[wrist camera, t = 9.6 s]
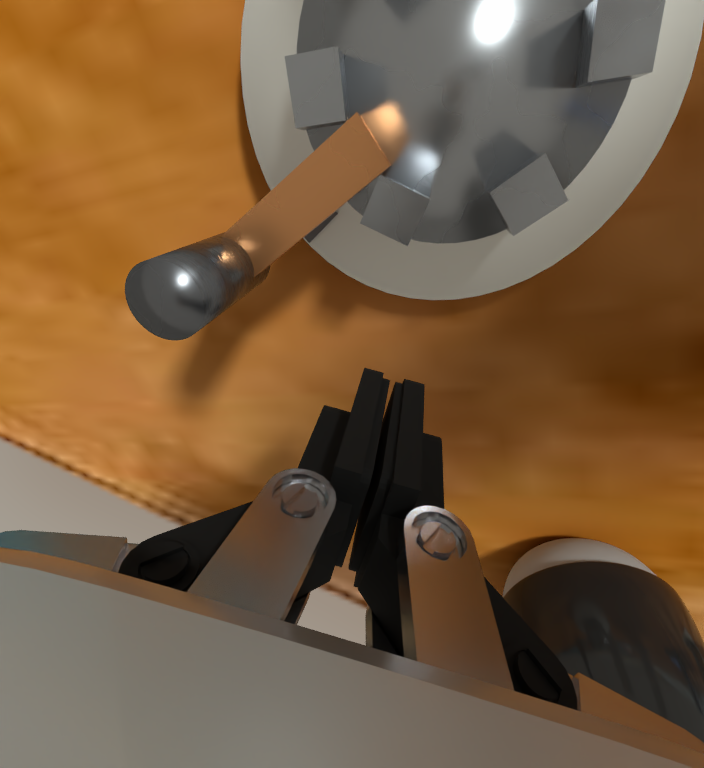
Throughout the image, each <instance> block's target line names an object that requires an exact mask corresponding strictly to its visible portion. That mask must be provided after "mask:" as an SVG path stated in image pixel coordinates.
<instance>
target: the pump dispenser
mask: <svg viewBox="0 0 704 768" xmlns="http://www.w3.org/2000/svg"><path fill="white" fill-rule="evenodd" d="M503 598H504V599H505V600H506V602H507V603H508V604H509V605H510V606H511V607H512V608H513V609H514V610H515V611H516V612H517V614H518V615H519V616H520V617H521V618H522V619H523V620H524V621H525V622H526V623H527V625H528V626H529V627H530V628H531V629H532V630H533V631H534V632H535V633H536V634H537V636H538V637H539V638H540V639H541V640H542V641H543V642H544V643H545V644H546V645H547V647H548V648H549V649H550V650H551V651H552V652H553V653H554V654H555V655H556V657H557V658H558V659H559V661H560V662H561V663H562V665H563V666H564V667H565V669H566V670H567V672H568V674H570V675H572V676H575V675H576V674H577V673H578V672H579V673H581V674H583V675H585V676H586V677H588V678H590V679H592V680H594V681H596V682H598V683H599V684H601V685H603V686H605V687H607V688H609V689H611V690H613V691H614V692H616V693H618V694H620V695H622V696H624V697H626V698H627V699H629V700H631V701H633V702H635V703H637V704H639V705H641V706H642V707H644V708H646V709H648V710H650V711H652V712H654V713H655V714H657V715H659V716H661V717H663V718H665V719H667V720H668V721H670V722H672V723H674V724H676V725H678V726H680V727H682V728H683V729H685V730H687V731H688V732H689V733H691V734H692V735H694V736H695V737H697V738H698V739H699V740H701V741H702V742H703V743H704V642H703V639H702V637H701V635H700V633H699V631H698V628H697V626H696V624H695V622H694V620H693V618H692V616H691V615H690V613H689V611H688V609H687V607H686V606H685V604H684V602H683V601H682V599H681V598H680V596H679V595H678V594H677V592H676V591H675V590H674V589H673V588H672V587H671V586H670V585H669V584H668V583H666V582H665V581H664V580H662V579H661V578H659V577H657V576H656V575H655V574H654V573H653V572H652V571H651V570H650V569H649V568H648V567H647V566H645V565H644V564H643V563H642V562H640V561H639V560H638V559H636V558H635V557H633V556H632V555H630V554H629V553H627V552H625V551H623V550H621V549H619V548H617V547H615V546H612V545H610V544H607V543H604V542H600V541H596V540H591V539H584V538H565V539H558V540H553V541H549V542H546V543H543V544H541V545H538V546H536V547H535V548H533V549H531V550H529V551H528V552H527V553H525V554H524V555H523V556H522V557H521V558H520V559H519V560H518V561H517V562H516V563H515V565H514V566H513V568H512V569H511V571H510V573H509V575H508V577H507V580H506V583H505V586H504V591H503Z"/></svg>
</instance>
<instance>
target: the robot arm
mask: <svg viewBox="0 0 704 768" xmlns="http://www.w3.org/2000/svg"><path fill="white" fill-rule="evenodd" d="M389 382H390V380H387V379H384V378H383V373H382V372H378V371H374V370H371V369H367V368H364V371H363V374H362V378H361V381H360V384H359V387H358V391H357V394H356V397H355V400H354V404H353V407H352V410H351V412H347V411H344V410H340V409H337V408H333V407H330V406H326V405H324V407H323V409H322V411H321V414H320V416H319V418H318V421H317V423H316V426H315V428H314V430H313V433H312V435H311V438H310V440H309V442H308V445H307V447H306V450H305V452H304V454H303V457H302V459H301V462H300V464H299V466H298V469H297V468H293V469H288V470H284V471H282V472H280V473H277V474H275V475H274V476H273V477H272V478H271V479H270V480H269V481H268V482H267V484H266V485H265V486H264V488H263V489H262V490H261V492H260V493H259V495H258V496H257V497H256V499H255V500H254V501H253V502H250V503H247V504H244V505H241V506H238V507H236V508H233V509H230V510H227V511H224V512H221V513H218V514H216V515H213V516H210V517H207V518H204V519H201V520H199V521H196V522H193V523H190V524H187V525H184V526H181V527H179V528H176V529H173V530H170V531H167V532H165V533H162V534H159V535H156V536H154V537H152V538H149V539H147V540H145V541H143V542H141V543H140V544H133V543H127V538H126V537H112V536H97V535H83V534H68V533H55V532H39V531H26V530H17V531H5V532H2V533H0V768H704V743H703V742H702V741H701V740H699V739H698V738H697V737H695V736H694V735H692V734H691V733H689V732H688V731H687V730H685V729H683V728H682V727H680V726H678V725H676V724H674V723H672V722H670V721H668V720H667V719H665V718H663V717H661V716H659V715H657V714H655V713H654V712H652V711H650V710H648V709H646V708H644V707H642V706H641V705H639V704H637V703H635V702H633V701H631V700H629V699H627V698H626V697H624V696H622V695H620V694H618V693H616V692H614V691H613V690H611V689H609V688H607V687H605V686H603V685H601V684H599V683H598V682H596V681H594V680H592V679H590V678H588V677H586V676H585V675H583V674H581V673H579V672H578V673H577V674H576V675H575V676H572V675H570V674H568V672H567V670H566V669H565V667H564V666H563V665H562V663H561V662H560V661H559V659H558V658H557V657H556V655H555V654H554V653H553V652H552V651H551V650H550V649H549V648H548V647H547V645H546V644H545V643H544V642H543V641H542V640H541V639H540V638H539V637H538V636H537V634H536V633H535V632H534V631H533V630H532V629H531V628H530V627H529V626H528V625H527V623H526V622H525V621H524V620H523V619H522V618H521V617H520V616H519V615H518V614H517V612H516V611H515V610H514V609H513V608H512V607H511V606H510V605H509V604H508V603H507V602H506V600H505V599H504V598H503V597H502V596H501V595H500V594H499V593H498V592H497V591H496V589H495V588H494V587H493V586H492V585H491V584H490V583H489V582H488V581H487V580H486V578H485V577H484V576H483V572H482V568H481V565H480V561H479V557H478V553H477V550H476V546H475V542H474V539H473V537H472V535H471V532H470V530H469V529H468V528H467V526H466V525H465V524H464V523H463V522H462V521H461V520H460V519H459V518H458V517H457V516H455V515H454V514H452V513H451V512H449V511H447V510H445V509H444V491H443V460H442V440H441V438H440V437H436V436H433V435H429V434H425V433H423V415H424V384H421V383H418V382H414V381H410V380H407V379H404V381H403V384H402V383H398V382H395V385H394V388H393V391H392V394H391V397H390V400H389V403H388V406H387V409H386V412H385V415H384V409H385V404H386V398H387V393H388V387H389ZM383 415H384V418H383ZM357 521H358V522H357ZM356 524H357V527H356ZM355 527H356V532H355V537H354V542H353V547H352V553H351V558H350V563H349V570H353V571H356V576H355V582H354V586H355V587H358V590H359V592H360V593H361V595H362V596H363V598H364V599H365V601H366V602H367V604H368V606H367V610H366V646H365V645H361V644H358V643H355V642H351V641H348V640H345V639H341V638H338V637H335V636H331V635H328V634H324V633H321V632H318V631H315V630H311V629H308V628H305V627H301V626H298V625H297V623H298V621H299V619H300V617H301V614H302V612H303V610H304V608H305V605H306V603H307V601H308V599H309V595H310V592H311V591H312V590H314V589H316V588H318V587H320V586H321V585H323V584H325V583H327V582H329V581H330V579H331V576H332V573H333V570H334V567H335V565H336V566H339V567H342V565H343V562H344V559H345V556H346V553H347V550H348V547H349V544H350V541H351V538H352V535H353V532H354V529H355Z"/></svg>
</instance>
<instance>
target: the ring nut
mask: <svg viewBox="0 0 704 768" xmlns="http://www.w3.org/2000/svg"><path fill="white" fill-rule="evenodd" d="M665 1H666V0H304V1H303V6H302V11H301V15H300V21H299V30H298V39H297V54H294V55H289V56H285V63H286V69H287V76H288V82H289V89H290V95H291V101H292V108H293V114H294V121H295V127H296V128H297V129H300V130H306V131H307V134H308V137H309V140H310V143H311V146H312V148H313V150H314V152H313V153H311V154H310V155H309V156H308V157H307V158H306V159H305V160H304V161H303V162H302V163H301V164H300V165H298V166H297V167H296V168H295V169H294V170H293V171H292V172H291V173H290V174H289V175H288V176H286V177H285V178H284V179H283V180H282V181H281V182H280V183H279V184H278V185H277V186H276V187H274V188H273V189H272V190H271V191H270V192H269V193H268V194H267V195H266V196H265V197H264V198H263V199H261V200H260V201H259V202H258V203H257V204H256V205H255V206H254V207H253V208H252V209H251V210H249V211H248V212H247V213H246V214H245V215H244V216H243V217H242V218H241V219H240V220H239V221H237V222H236V223H235V224H234V225H233V226H232V227H231V228H230V229H229V230H228V231H227V232H224V233H221V234H219V235H216V236H213V237H210V238H207V239H205V240H202V241H199V242H196V243H193V244H191V245H188V246H185V247H182V248H179V249H177V250H174V251H171V252H168V253H165V254H163V255H160V256H157V257H154V258H151V259H149V260H146V261H143V262H140V263H139V264H137V265H136V266H134V267H133V268H132V270H131V271H130V272H129V274H128V276H127V279H126V283H125V295H126V300H127V303H128V306H129V308H130V310H131V312H132V314H133V315H134V317H135V318H136V319H137V321H138V322H139V323H140V324H141V325H142V326H143V327H144V328H145V329H147V330H148V331H149V332H151V333H153V334H154V335H156V336H158V337H161V338H164V339H168V340H183V339H186V338H188V337H190V336H192V335H193V334H195V333H196V332H197V331H199V330H200V329H201V328H203V327H204V326H205V325H207V324H208V323H209V322H211V321H212V320H213V319H214V318H216V317H217V316H218V315H220V314H221V313H222V312H224V311H225V310H226V309H228V308H229V307H230V306H232V305H233V304H234V303H236V302H237V301H238V300H240V299H241V298H242V297H243V296H245V295H246V294H247V293H249V292H250V291H251V290H253V289H254V288H255V287H257V286H258V285H259V284H261V283H262V282H263V281H264V280H265V279H266V277H267V275H268V273H269V270H270V265H271V264H272V263H273V262H275V261H276V260H277V259H278V258H279V257H281V256H282V255H283V254H284V253H286V252H287V251H288V250H289V249H290V248H292V247H293V246H294V245H295V244H297V243H298V242H299V241H300V240H301V239H303V238H304V237H305V236H306V235H308V234H309V233H310V232H311V231H312V230H314V229H315V228H316V227H317V226H319V225H320V224H321V223H322V222H323V221H325V220H326V219H327V218H328V217H329V216H331V215H332V214H333V213H334V212H336V211H337V210H338V209H339V208H340V207H342V206H343V205H344V204H345V203H347V202H348V203H349V204H350V205H351V206H352V207H353V208H354V209H355V210H356V211H357V212H359V213H360V214H361V215H362V216H363V217H362V220H361V222H360V224H362V225H364V226H367V227H369V228H371V229H373V230H375V231H377V232H379V233H381V234H383V235H385V236H387V237H389V238H391V239H394V240H396V241H398V242H400V243H402V244H404V245H406V246H408V245H409V243H410V240H411V239H412V240H416V241H420V242H429V243H438V244H439V243H460V242H466V241H472V240H477V239H481V238H484V237H487V236H491V235H494V234H497V233H499V232H501V231H504V230H506V229H507V231H508V232H509V233H510V234H512V235H513V236H514V235H516V234H518V233H519V232H521V231H522V230H524V229H525V228H527V227H528V226H530V225H531V224H533V223H535V222H536V221H538V220H539V219H541V218H542V217H544V216H545V215H547V214H549V213H550V212H552V211H553V210H555V209H556V208H558V207H559V206H561V205H562V204H564V203H566V202H567V201H569V200H568V198H567V196H566V194H565V192H564V189H565V188H567V187H568V186H569V185H570V184H571V182H572V181H573V180H574V179H575V178H576V177H577V176H578V174H579V173H580V172H581V171H582V170H583V169H584V168H585V167H586V165H587V164H588V162H589V161H590V160H591V158H592V157H593V155H594V154H595V153H596V151H597V150H598V148H599V147H600V146H601V144H602V142H603V141H604V139H605V137H606V135H607V134H608V132H609V130H610V128H611V127H612V125H613V123H614V121H615V119H616V117H617V115H618V113H619V110H620V108H621V106H622V104H623V101H624V99H625V97H626V94H627V91H628V88H629V85H630V82H631V79H636V78H638V77H641V76H643V75H646V74H648V73H651V72H653V66H654V61H655V55H656V50H657V44H658V39H659V33H660V28H661V23H662V17H663V12H664V6H665Z"/></svg>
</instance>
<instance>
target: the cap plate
mask: <svg viewBox="0 0 704 768" xmlns="http://www.w3.org/2000/svg"><path fill="white" fill-rule="evenodd" d="M303 1H304V0H245V6H244V13H243V21H242V33H241V77H242V92H243V100H244V106H245V112H246V118H247V124H248V128H249V132H250V136H251V139H252V143H253V146H254V150H255V154H256V157H257V159H258V162H259V164H260V167H261V169H262V172H263V174H264V177H265V179H266V182H267V184H268V186H269V188H270V190H272V189H273V188H274V187H276V186H277V185H278V184H279V183H280V182H281V181H282V180H283V179H284V178H285V177H286V176H288V175H289V174H290V173H291V172H292V171H293V170H294V169H295V168H296V167H297V166H298V165H300V164H301V163H302V162H303V161H304V160H305V159H306V158H307V157H308V156H309V155H310V154H311V153H313V152H314V150H313V148H312V146H311V143H310V140H309V137H308V134H307V131H306V130H300V129H297V128H296V127H295V121H294V114H293V108H292V101H291V95H290V89H289V82H288V76H287V69H286V63H285V56H289V55H294V54H297V39H298V30H299V21H300V15H301V11H302V6H303ZM703 21H704V0H666V1H665V6H664V12H663V17H662V23H661V28H660V33H659V39H658V44H657V50H656V55H655V61H654V66H653V72H651V73H648V74H646V75H643V76H641V77H638V78H636V79H631V82H630V85H629V88H628V91H627V94H626V97H625V99H624V101H623V104H622V106H621V108H620V110H619V113H618V115H617V117H616V119H615V121H614V123H613V125H612V127H611V128H610V130H609V132H608V134H607V135H606V137H605V139H604V141H603V142H602V144H601V146H600V147H599V148H598V150H597V151H596V153H595V154H594V155H593V157H592V158H591V160H590V161H589V162H588V164H587V165H586V167H585V168H584V169H583V170H582V171H581V172H580V173H579V174H578V176H577V177H576V178H575V179H574V180H573V181H572V182H571V184H570V185H569V186H568V187H567V188H565V189H564V192H565V194H566V196H567V198H568V200H569V201H567V202H566V203H564V204H562V205H561V206H559V207H558V208H556V209H555V210H553V211H552V212H550V213H549V214H547V215H545V216H544V217H542V218H541V219H539V220H538V221H536V222H535V223H533V224H531V225H530V226H528V227H527V228H525V229H524V230H522V231H521V232H519V233H518V234H516V235H514V236H513V235H512V234H510V233H509V232H508V231H507V229H506V230H504V231H501V232H499V233H497V234H494V235H491V236H487V237H484V238H481V239H477V240H472V241H466V242H460V243H439V244H438V243H429V242H420V241H416V240H412V239H411V240H410V243H409V245H408V246H406V245H404V244H402V243H400V242H398V241H396V240H394V239H391V238H389V237H387V236H385V235H383V234H381V233H379V232H377V231H375V230H373V229H371V228H369V227H367V226H364V225H362V224H360V222H361V220H362V217H363V216H362V215H361V214H360V213H359V212H357V211H356V210H355V209H354V208H353V207H352V206H351V205H350V204H349V203H348V202H347V203H345V204H344V205H343V206H342V207H340V208H339V209H338V210H337V211H336V212H334V213H333V214H332V215H331V216H329V217H328V218H327V219H326V220H325V221H323V222H322V223H321V224H320V225H319V226H317V227H316V228H315V229H314V230H312V231H311V232H310V233H309V234H308V235H306V236H305V237H304V240H305V241H306V242H307V243H308V244H309V245H310V246H311V247H312V248H313V249H314V250H315V251H316V252H317V253H318V254H320V255H321V256H322V257H323V258H324V259H325V260H326V261H327V262H329V263H330V264H332V265H333V266H334V267H336V268H337V269H339V270H340V271H342V272H343V273H345V274H346V275H348V276H350V277H352V278H353V279H355V280H357V281H359V282H361V283H363V284H365V285H367V286H370V287H372V288H375V289H378V290H381V291H383V292H386V293H389V294H394V295H398V296H403V297H407V298H414V299H425V300H455V299H462V298H469V297H475V296H481V295H484V294H488V293H491V292H495V291H498V290H502V289H505V288H507V287H510V286H512V285H515V284H517V283H520V282H522V281H524V280H527V279H529V278H531V277H533V276H534V275H536V274H538V273H540V272H542V271H544V270H545V269H547V268H549V267H551V266H553V265H554V264H555V263H557V262H558V261H560V260H561V259H563V258H564V257H565V256H567V255H568V254H570V253H571V252H573V251H574V250H575V249H577V248H578V247H579V246H580V245H581V244H582V243H584V242H585V241H586V240H587V239H588V238H589V237H591V236H592V235H593V234H594V233H595V232H596V231H597V230H599V229H600V228H601V227H602V225H603V224H604V223H605V222H606V221H607V220H608V219H609V218H610V217H611V216H612V215H613V214H614V213H615V212H616V211H617V210H618V208H619V207H620V206H621V205H622V204H623V203H624V201H625V200H626V199H627V197H628V196H629V195H630V193H631V192H632V191H633V190H634V188H635V187H636V186H637V184H638V183H639V182H640V180H641V179H642V178H643V176H644V174H645V173H646V171H647V170H648V168H649V166H650V165H651V163H652V162H653V160H654V158H655V157H656V155H657V154H658V152H659V150H660V149H661V147H662V145H663V143H664V141H665V139H666V137H667V135H668V133H669V130H670V128H671V126H672V124H673V122H674V120H675V118H676V116H677V114H678V111H679V109H680V106H681V103H682V101H683V98H684V95H685V92H686V90H687V87H688V84H689V82H690V79H691V76H692V72H693V68H694V64H695V60H696V56H697V52H698V48H699V44H700V40H701V35H702V28H703Z"/></svg>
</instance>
